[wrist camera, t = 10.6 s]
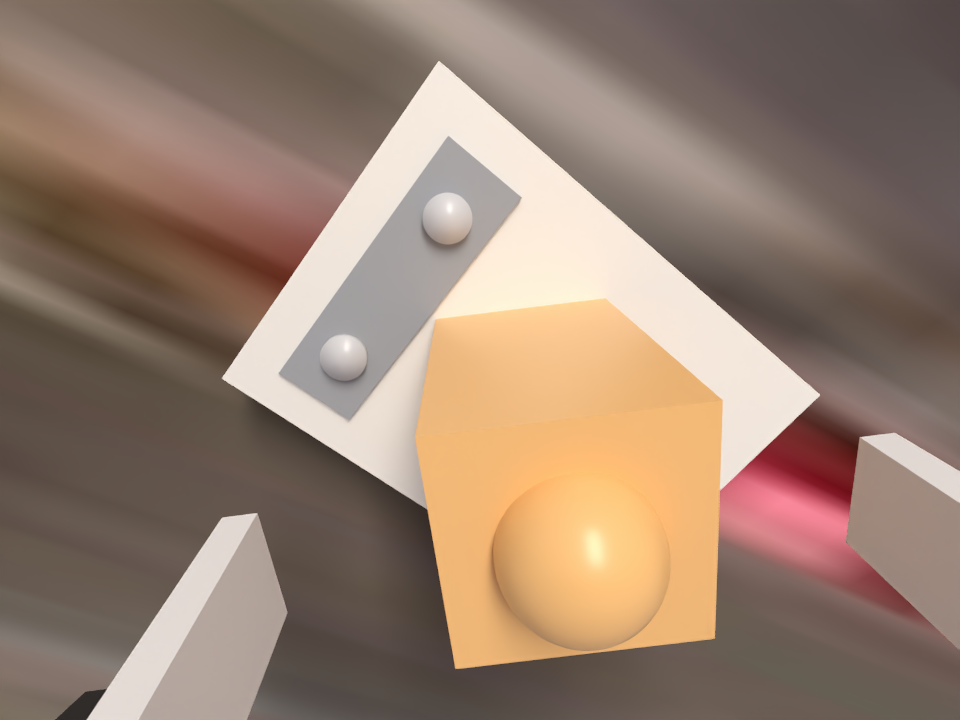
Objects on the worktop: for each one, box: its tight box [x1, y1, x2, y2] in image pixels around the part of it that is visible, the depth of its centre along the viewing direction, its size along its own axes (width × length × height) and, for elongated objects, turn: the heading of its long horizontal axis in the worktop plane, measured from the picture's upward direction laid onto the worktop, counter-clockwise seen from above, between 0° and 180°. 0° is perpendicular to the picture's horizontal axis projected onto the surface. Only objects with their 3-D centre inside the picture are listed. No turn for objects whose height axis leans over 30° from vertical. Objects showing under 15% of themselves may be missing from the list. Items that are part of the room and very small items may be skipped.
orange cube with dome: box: [415, 298, 723, 669], centre depth 15 cm, size 6×6×11 cm
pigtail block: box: [222, 61, 820, 510], centre depth 19 cm, size 18×13×7 cm
